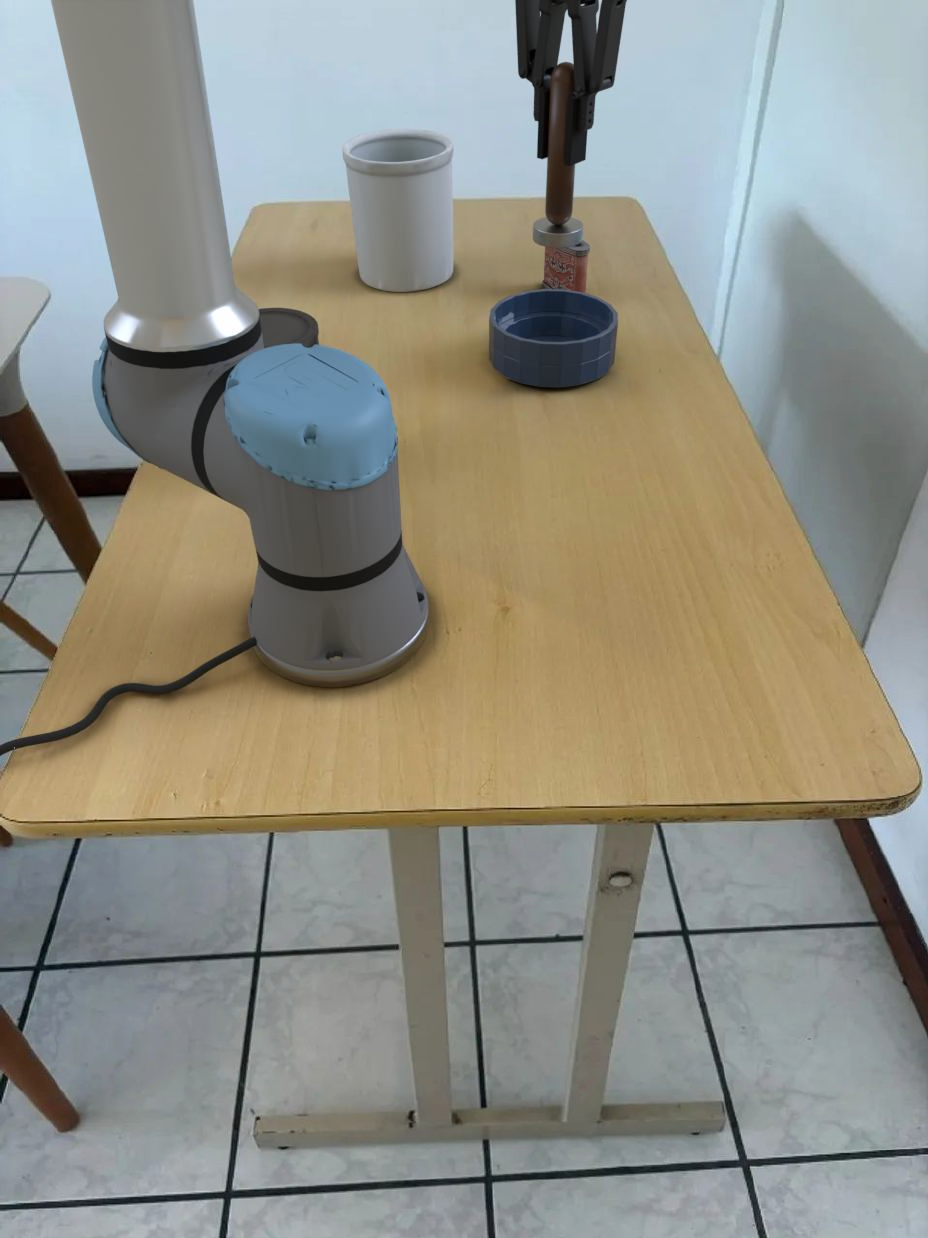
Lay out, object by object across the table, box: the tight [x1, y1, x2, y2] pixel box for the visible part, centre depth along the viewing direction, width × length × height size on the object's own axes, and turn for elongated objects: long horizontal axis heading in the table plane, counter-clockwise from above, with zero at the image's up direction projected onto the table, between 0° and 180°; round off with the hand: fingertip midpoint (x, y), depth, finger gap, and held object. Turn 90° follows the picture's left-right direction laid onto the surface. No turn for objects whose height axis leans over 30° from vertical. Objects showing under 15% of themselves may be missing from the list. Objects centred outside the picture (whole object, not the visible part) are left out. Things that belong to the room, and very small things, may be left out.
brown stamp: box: [532, 61, 584, 248], centre depth 102 cm, size 6×6×18 cm
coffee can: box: [258, 307, 320, 348], centre depth 98 cm, size 10×10×14 cm
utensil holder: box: [342, 128, 454, 293], centre depth 133 cm, size 15×15×18 cm
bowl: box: [488, 288, 619, 388], centre depth 116 cm, size 15×15×6 cm
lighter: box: [541, 239, 591, 293], centre depth 129 cm, size 8×3×10 cm, turn 34°
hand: (561, 158), depth 102 cm, fingers closed on brown stamp, 3 cm apart
